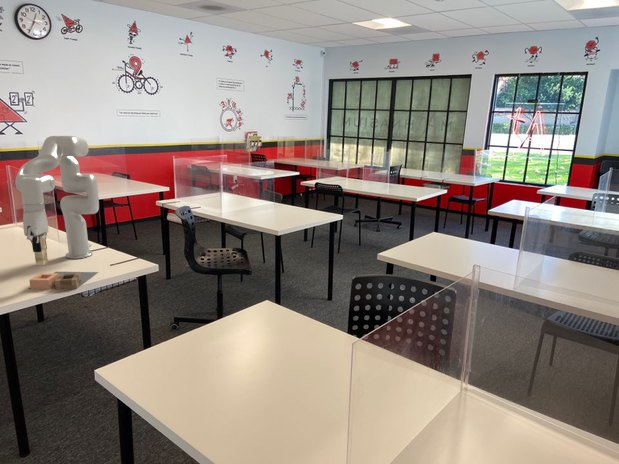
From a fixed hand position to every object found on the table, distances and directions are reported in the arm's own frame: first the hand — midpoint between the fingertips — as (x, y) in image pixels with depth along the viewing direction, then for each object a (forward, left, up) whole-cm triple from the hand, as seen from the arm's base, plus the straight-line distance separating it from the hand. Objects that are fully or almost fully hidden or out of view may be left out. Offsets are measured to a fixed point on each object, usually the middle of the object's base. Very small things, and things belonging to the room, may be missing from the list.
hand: (40, 250), depth 187 cm
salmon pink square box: (0, 0, -16) cm, 16 cm away
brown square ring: (0, +10, -16) cm, 19 cm away
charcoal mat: (-7, +5, -16) cm, 18 cm away
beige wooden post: (0, 0, -6) cm, 6 cm away
